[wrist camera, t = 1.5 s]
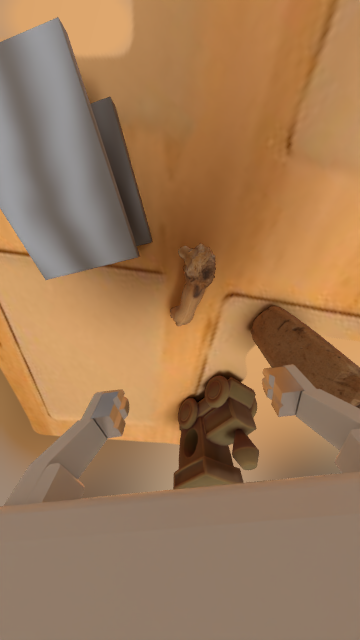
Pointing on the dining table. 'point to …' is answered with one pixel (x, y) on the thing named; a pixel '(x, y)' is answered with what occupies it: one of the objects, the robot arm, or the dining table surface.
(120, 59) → the dining table surface
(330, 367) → the block
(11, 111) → the stand
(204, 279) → the lion figurine
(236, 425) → the wooden toy train
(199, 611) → the robot arm
